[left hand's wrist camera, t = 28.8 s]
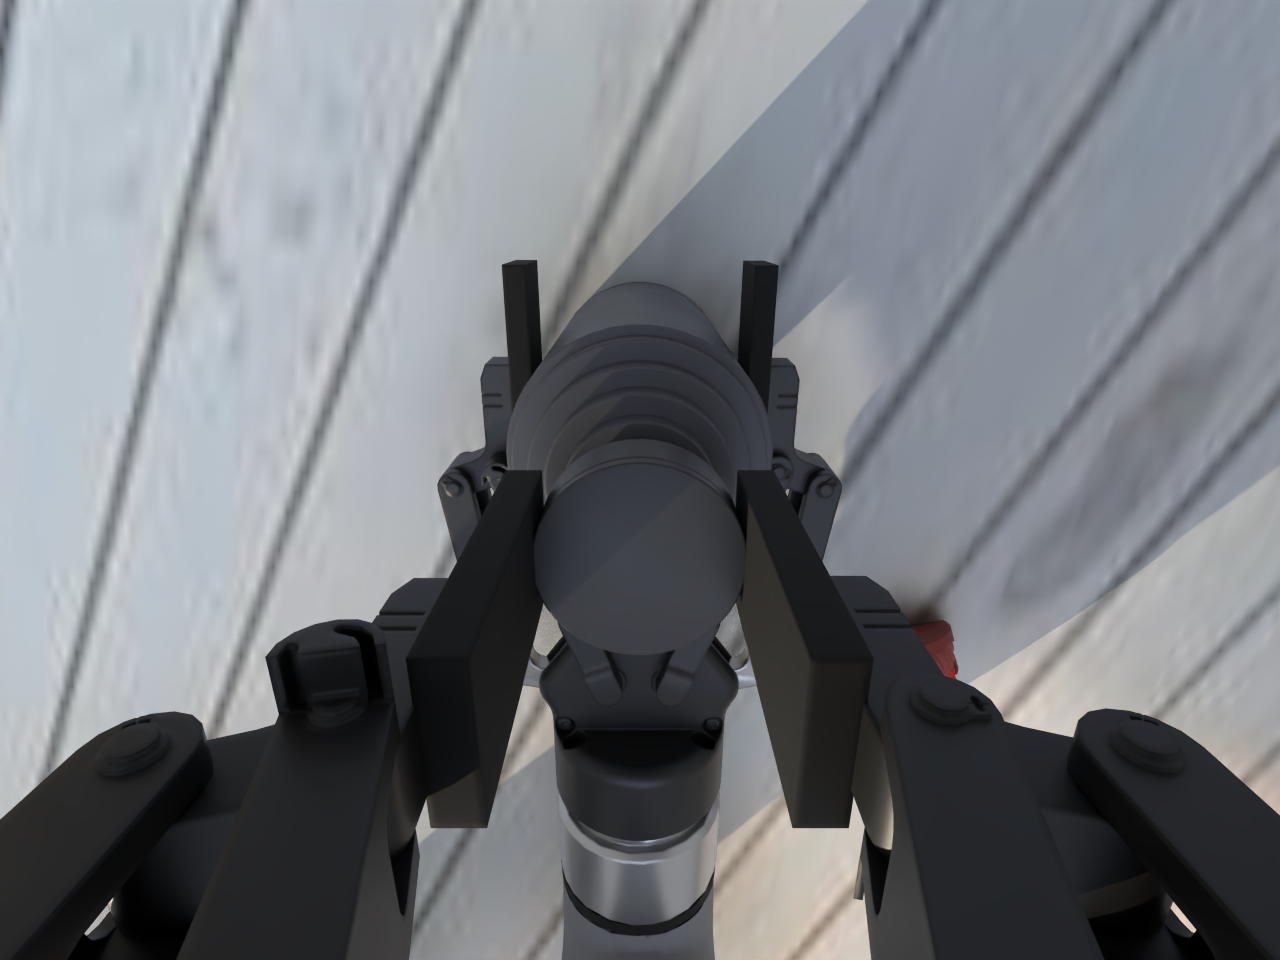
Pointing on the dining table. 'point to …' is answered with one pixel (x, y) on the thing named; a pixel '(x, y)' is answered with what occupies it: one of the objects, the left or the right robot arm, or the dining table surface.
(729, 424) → the bottle
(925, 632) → the dental model
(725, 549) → the cap
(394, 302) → the dining table surface
